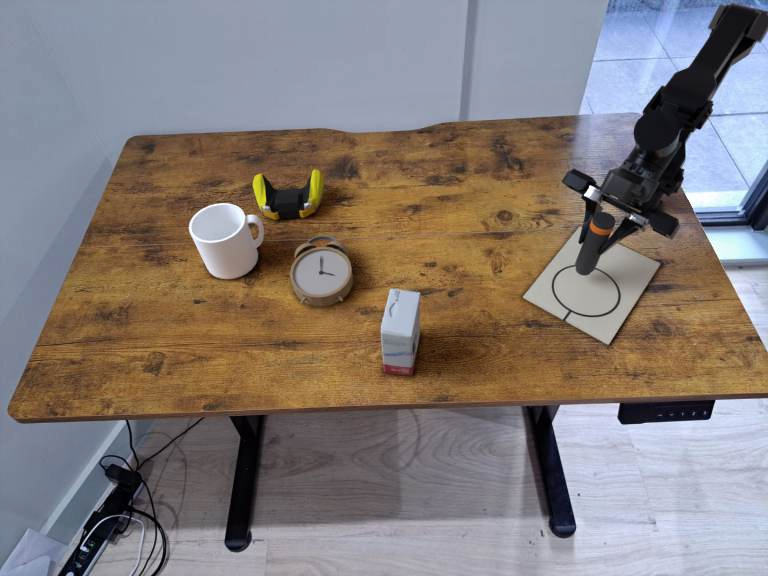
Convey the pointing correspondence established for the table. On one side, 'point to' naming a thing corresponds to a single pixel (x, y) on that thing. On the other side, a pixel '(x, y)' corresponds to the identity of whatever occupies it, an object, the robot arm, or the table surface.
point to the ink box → (400, 331)
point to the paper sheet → (593, 288)
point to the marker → (594, 242)
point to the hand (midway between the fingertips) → (589, 249)
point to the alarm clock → (321, 272)
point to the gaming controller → (289, 197)
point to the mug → (226, 239)
